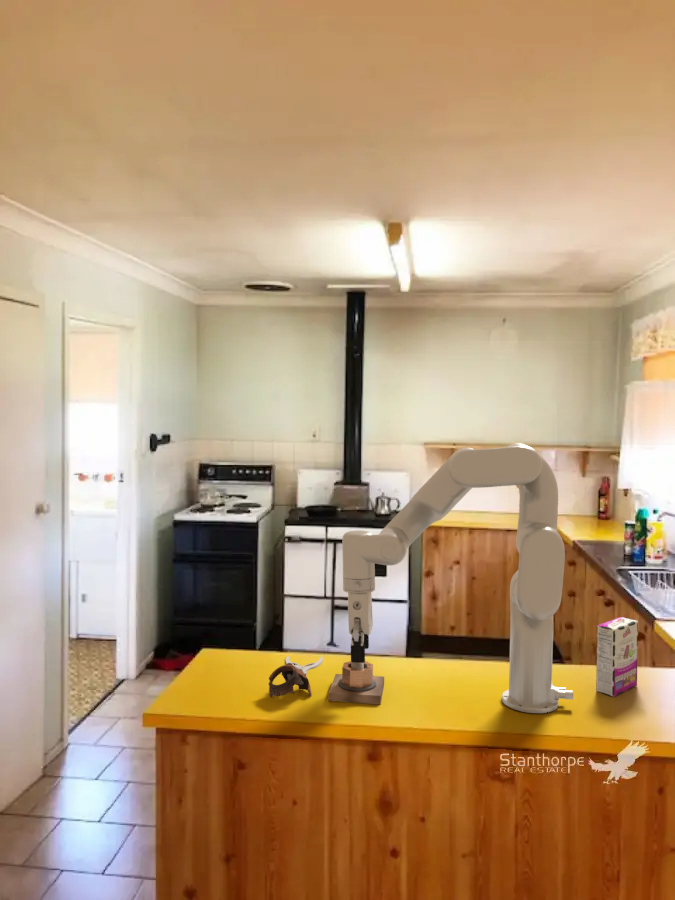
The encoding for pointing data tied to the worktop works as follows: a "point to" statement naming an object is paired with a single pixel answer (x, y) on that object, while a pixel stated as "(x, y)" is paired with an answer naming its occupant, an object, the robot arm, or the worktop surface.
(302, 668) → the pliers
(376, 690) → the shaft block
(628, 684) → the candy bar box
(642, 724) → the worktop surface
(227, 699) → the worktop surface
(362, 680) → the ring
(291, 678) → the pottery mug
